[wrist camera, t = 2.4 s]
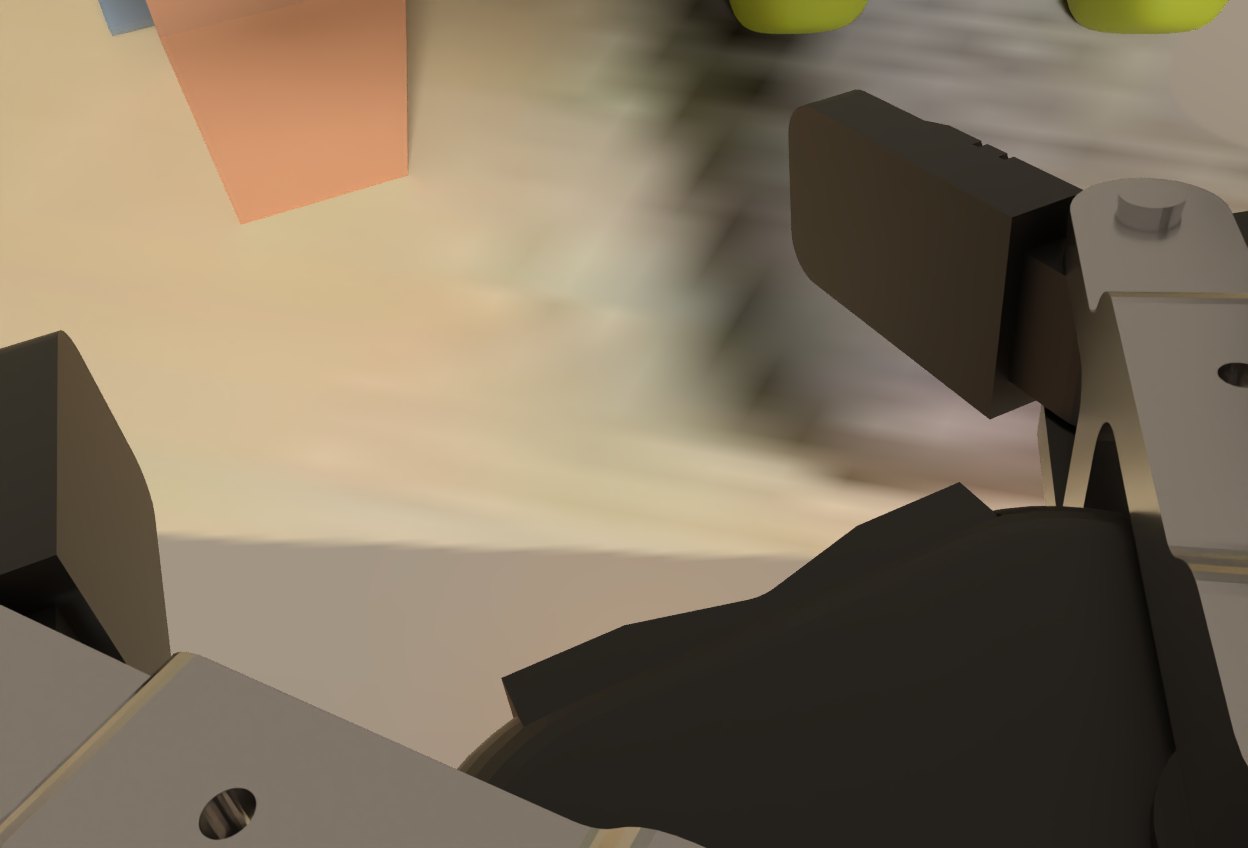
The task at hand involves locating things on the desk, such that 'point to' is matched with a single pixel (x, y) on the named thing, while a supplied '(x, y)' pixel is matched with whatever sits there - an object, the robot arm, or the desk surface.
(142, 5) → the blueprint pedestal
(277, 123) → the terracotta block
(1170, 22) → the dumbbell
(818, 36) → the desk surface
